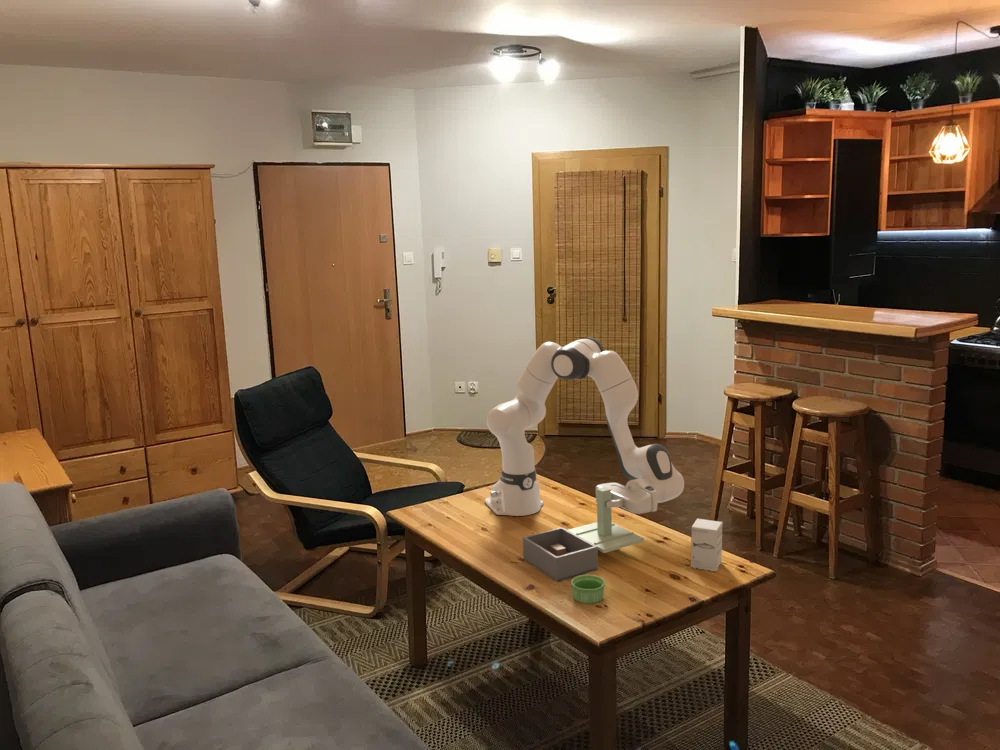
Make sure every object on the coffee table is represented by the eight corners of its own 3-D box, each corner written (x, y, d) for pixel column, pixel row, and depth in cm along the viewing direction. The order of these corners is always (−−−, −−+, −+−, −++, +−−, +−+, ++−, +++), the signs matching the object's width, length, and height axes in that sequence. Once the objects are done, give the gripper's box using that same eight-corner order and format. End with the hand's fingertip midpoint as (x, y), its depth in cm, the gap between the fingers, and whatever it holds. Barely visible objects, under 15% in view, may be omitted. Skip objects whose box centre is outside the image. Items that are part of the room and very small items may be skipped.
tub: (523, 559, 235) (522, 537, 234) (562, 548, 242) (562, 527, 240) (556, 582, 220) (556, 558, 218) (598, 569, 226) (597, 546, 225)
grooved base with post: (566, 533, 242) (565, 485, 239) (605, 522, 249) (604, 476, 246) (603, 553, 226) (602, 502, 223) (644, 541, 233) (643, 492, 230)
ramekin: (592, 586, 216) (592, 571, 215) (612, 599, 208) (612, 584, 208) (564, 594, 212) (564, 579, 211) (583, 608, 204) (583, 592, 203)
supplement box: (690, 568, 225) (690, 526, 222) (696, 558, 231) (696, 517, 229) (716, 573, 221) (717, 530, 219) (722, 562, 228) (723, 521, 225)
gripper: (617, 475, 250) (581, 483, 243) (660, 492, 232) (622, 501, 226) (617, 494, 251) (581, 503, 244) (660, 512, 233) (623, 522, 227)
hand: (601, 502), depth 235 cm, fingers closed on grooved base with post, 3 cm apart
